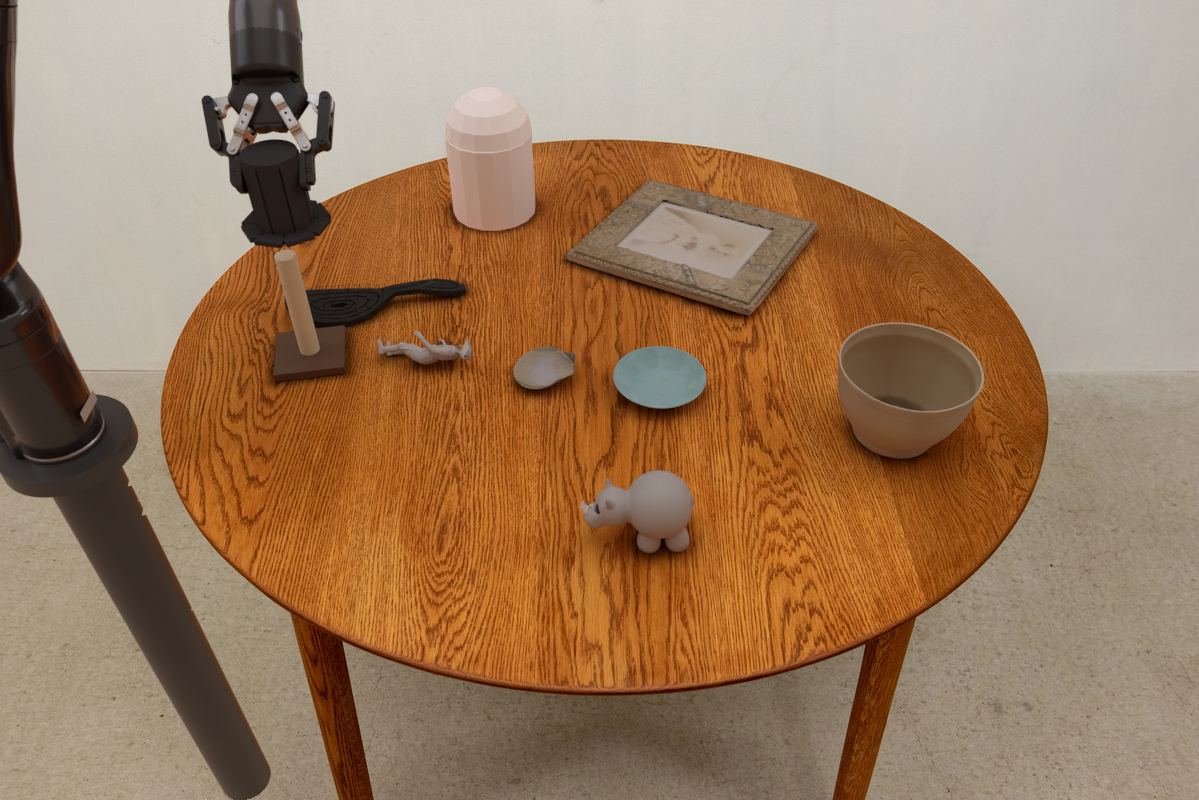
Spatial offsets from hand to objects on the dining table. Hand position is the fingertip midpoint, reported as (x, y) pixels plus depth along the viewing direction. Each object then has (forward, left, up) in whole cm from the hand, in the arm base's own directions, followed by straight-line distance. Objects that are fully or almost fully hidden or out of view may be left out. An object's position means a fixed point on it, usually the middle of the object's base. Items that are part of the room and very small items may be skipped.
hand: (274, 190), depth 103 cm
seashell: (+28, -4, -29) cm, 40 cm away
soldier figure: (+13, +2, -29) cm, 31 cm away
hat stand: (-2, +6, -28) cm, 29 cm away
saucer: (+42, -9, -29) cm, 52 cm away
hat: (0, +2, -5) cm, 6 cm away
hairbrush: (+7, +16, -29) cm, 34 cm away
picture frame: (+55, +22, -28) cm, 66 cm away
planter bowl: (+68, -22, -29) cm, 77 cm away
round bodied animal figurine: (+34, -32, -29) cm, 54 cm away
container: (+26, +39, -28) cm, 55 cm away
